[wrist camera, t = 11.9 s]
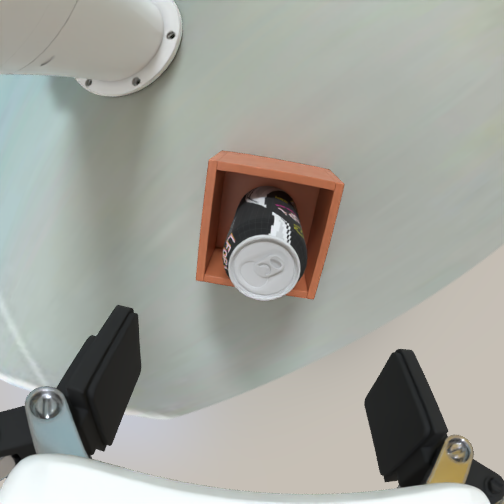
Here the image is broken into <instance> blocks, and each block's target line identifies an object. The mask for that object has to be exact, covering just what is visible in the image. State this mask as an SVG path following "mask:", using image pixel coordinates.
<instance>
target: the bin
mask: <svg viewBox="0 0 504 504" xmlns="http://www.w3.org/2000/svg"><path fill="white" fill-rule="evenodd" d="M261 186H273V187H277V188H279V189H281V190H283V191H285V192H286V193H287V194H289V196H290V197H291V198H292V199H293V201H294V203H295V205H296V208H297V211H298V215H299V219H300V223H301V227H302V231H303V236H304V240H305V244H306V248H307V257H308V258H307V265H306V269H305V271H304V274H303V276H302V277H301V279H300V280H299V281H298V282H297V283H296V285H295V286H294V288H293V289H292V290H291V291H290V292H289V293H287V294H286V295H287V296H294V297H300V298H307V299H314V297H315V294H316V290H317V287H318V283H319V280H320V276H321V273H322V269H323V266H324V262H325V259H326V255H327V251H328V248H329V244H330V240H331V236H332V233H333V229H334V225H335V221H336V217H337V213H338V209H339V205H340V201H341V197H342V193H343V188H344V183H343V182H342V181H341V180H340V179H339V178H338V177H337V176H335V175H334V174H333V173H332V172H331V171H330V170H329V169H324V168H320V167H315V166H310V165H305V164H300V163H295V162H290V161H284V160H279V159H273V158H267V157H262V156H255V155H249V154H243V153H236V152H230V151H223V150H222V151H221V152H219V153H218V154H216V155H215V156H214V157H212V158H211V159H209V162H208V170H207V178H206V186H205V194H204V203H203V212H202V221H201V230H200V240H199V250H198V261H197V272H196V280H197V281H204V282H209V283H215V284H221V285H226V286H232V287H235V286H234V285H233V283H232V282H231V280H230V278H229V277H228V275H227V273H226V271H225V269H224V265H223V260H222V256H223V248H224V244H225V241H226V238H227V235H228V232H229V229H230V227H231V224H232V221H233V218H234V216H235V213H236V210H237V207H238V205H239V203H240V201H241V199H242V198H243V197H244V195H245V194H247V193H248V192H249V191H251V190H253V189H254V188H257V187H261Z"/></svg>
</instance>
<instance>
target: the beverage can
mask: <svg viewBox="0 0 504 504" xmlns="http://www.w3.org/2000/svg"><path fill="white" fill-rule="evenodd" d="M307 258H308V257H307V248H306V244H305V240H304V236H303V231H302V227H301V223H300V219H299V215H298V211H297V208H296V205H295V203H294V201H293V199H292V198H291V197H290V196H289V194H287V193H286V192H285V191H283V190H281V189H279V188H277V187H273V186H261V187H257V188H254V189H253V190H251V191H249V192H248V193H247V194H245V195H244V197H243V198H242V199H241V201H240V203H239V205H238V207H237V210H236V213H235V216H234V218H233V221H232V224H231V227H230V229H229V232H228V235H227V238H226V241H225V244H224V248H223V256H222V260H223V265H224V269H225V271H226V273H227V275H228V277H229V278H230V280H231V282H232V283H233V285H234V286H235V288H236V289H237V290H238V291H239V292H241V293H242V294H244V295H245V296H247V297H249V298H252V299H256V300H262V301H267V300H274V299H278V298H280V297H282V296H284V295H286V294H287V293H289V292H290V291H291V290H292V289H293V288H294V286H295V285H296V283H297V282H298V281H299V280H300V279H301V277H302V276H303V274H304V271H305V269H306V265H307Z"/></svg>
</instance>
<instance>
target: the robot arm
mask: <svg viewBox="0 0 504 504" xmlns="http://www.w3.org/2000/svg"><path fill="white" fill-rule="evenodd" d="M173 35H175V37H174V38H173V39H171V37H172V36H173ZM181 37H182V19H181V14H180V11H179V9H178V7H177V5H176V3H175V2H174V1H173V0H0V75H44V76H60V77H73V78H75V79H76V80H77V82H78V83H79V84H80V85H81V86H82V87H83V88H85V89H86V90H88V91H89V92H91V93H94V94H97V95H100V96H110V97H112V96H123V95H129V94H131V93H134V92H137V91H139V90H141V89H143V88H144V87H146V86H148V85H150V84H151V83H152V82H153V81H155V80H156V79H157V78H158V77H159V76H160V75H161V74H162V73H163V72H164V71H165V70H166V69H167V68H168V66H169V65H170V63H171V61H172V60H173V58H174V57H175V55H176V52H177V50H178V48H179V45H180V41H181ZM138 80H140V83H139V84H138ZM91 82H92V84H91ZM140 372H141V357H140V343H139V324H138V314H136V313H134V310H133V309H132V308H129V307H124V306H120V305H117V306H116V307H115V309H114V310H113V312H112V313H111V315H110V316H109V318H108V319H107V321H106V322H105V324H104V325H103V327H102V328H101V330H100V331H99V333H98V335H97V336H93V335H91V336H89V338H88V339H87V340H86V342H85V343H84V345H83V346H82V348H81V349H80V351H79V353H78V354H77V356H76V357H75V359H74V360H73V362H72V364H71V365H70V367H69V368H68V370H67V372H66V373H65V375H64V377H63V378H62V380H61V381H60V383H59V385H58V386H57V388H54V387H49V386H45V387H39V388H36V389H34V390H33V391H32V392H30V394H29V395H28V396H27V398H26V401H25V406H22V407H18V408H15V409H11V410H7V411H3V412H0V481H1V480H3V479H4V478H6V480H5V482H4V484H3V486H2V487H1V489H0V504H504V480H503V479H502V477H501V476H499V475H498V474H497V473H495V472H493V471H492V470H490V469H488V468H487V467H485V466H484V465H482V464H480V463H479V462H477V461H475V460H474V459H473V455H474V451H473V447H472V445H471V443H470V442H469V441H468V440H467V439H466V438H464V437H463V436H460V435H451V436H449V437H448V436H447V434H446V433H447V432H448V429H447V427H446V424H445V422H444V419H443V417H442V414H441V412H440V410H439V407H438V405H437V402H436V400H435V398H434V396H433V393H432V391H431V389H430V386H429V384H428V382H427V380H426V378H425V375H424V373H423V371H422V369H421V367H420V365H419V363H418V361H417V359H416V356H415V354H414V352H413V351H412V350H406V349H398V350H396V352H394V353H392V354H391V356H390V357H389V359H388V361H387V363H386V365H385V367H384V368H383V370H382V372H381V373H380V375H379V377H378V378H377V380H376V382H375V383H374V385H373V387H372V388H371V390H370V391H369V393H368V395H367V397H366V398H365V409H366V413H367V417H368V421H369V426H370V430H371V434H372V438H373V443H374V447H375V451H376V456H377V461H378V466H379V470H380V473H381V475H383V476H384V480H385V482H390V481H397V480H398V482H399V486H398V487H397V488H396V489H388V490H379V491H370V492H358V493H341V494H279V493H261V492H250V491H240V490H231V489H223V488H216V487H210V486H203V485H197V484H192V483H186V482H181V481H177V480H172V479H167V478H162V477H158V476H154V475H150V474H145V473H142V472H138V471H134V470H130V469H127V468H123V467H120V466H116V465H112V464H109V463H105V462H101V461H97V460H94V459H92V457H91V455H93V454H94V452H95V450H96V449H98V450H101V451H105V448H106V445H109V446H110V445H112V443H113V440H114V438H115V435H116V433H117V430H118V427H119V425H120V422H121V420H122V417H123V415H124V412H125V409H126V407H127V404H128V402H129V399H130V397H131V395H132V392H133V390H134V387H135V385H136V382H137V380H138V377H139V375H140Z"/></svg>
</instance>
